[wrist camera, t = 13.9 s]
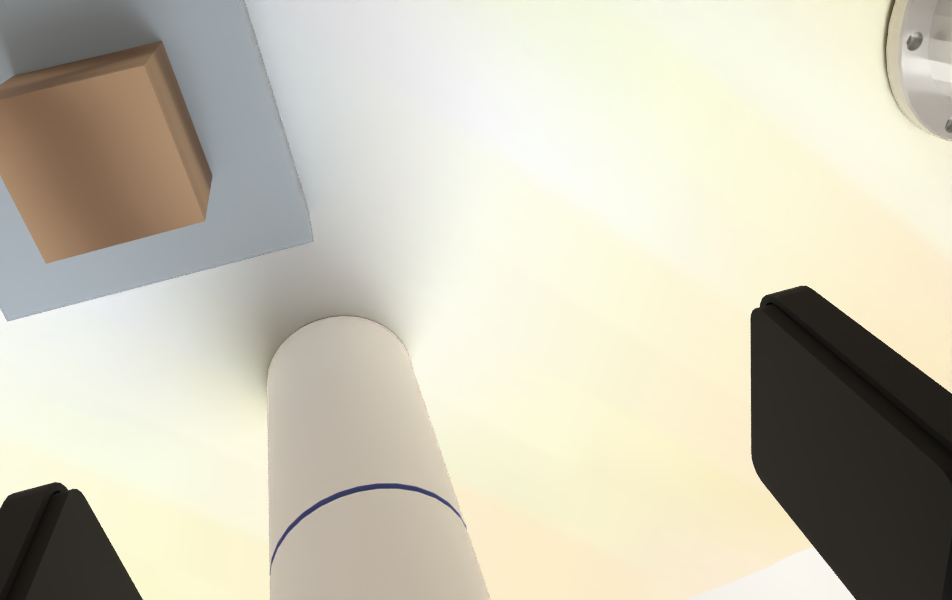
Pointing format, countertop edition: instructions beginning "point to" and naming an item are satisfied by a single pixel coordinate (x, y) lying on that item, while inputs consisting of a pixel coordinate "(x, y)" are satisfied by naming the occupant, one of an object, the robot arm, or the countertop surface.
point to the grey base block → (216, 123)
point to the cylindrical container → (359, 474)
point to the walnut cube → (101, 152)
